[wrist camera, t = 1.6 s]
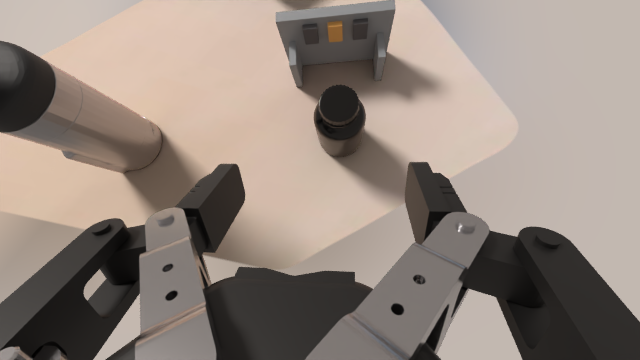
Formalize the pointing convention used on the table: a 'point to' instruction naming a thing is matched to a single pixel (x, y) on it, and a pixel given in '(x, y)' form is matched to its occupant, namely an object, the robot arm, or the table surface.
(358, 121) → the supplement bottle
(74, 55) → the table surface
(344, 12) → the panel
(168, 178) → the table surface
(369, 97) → the table surface
